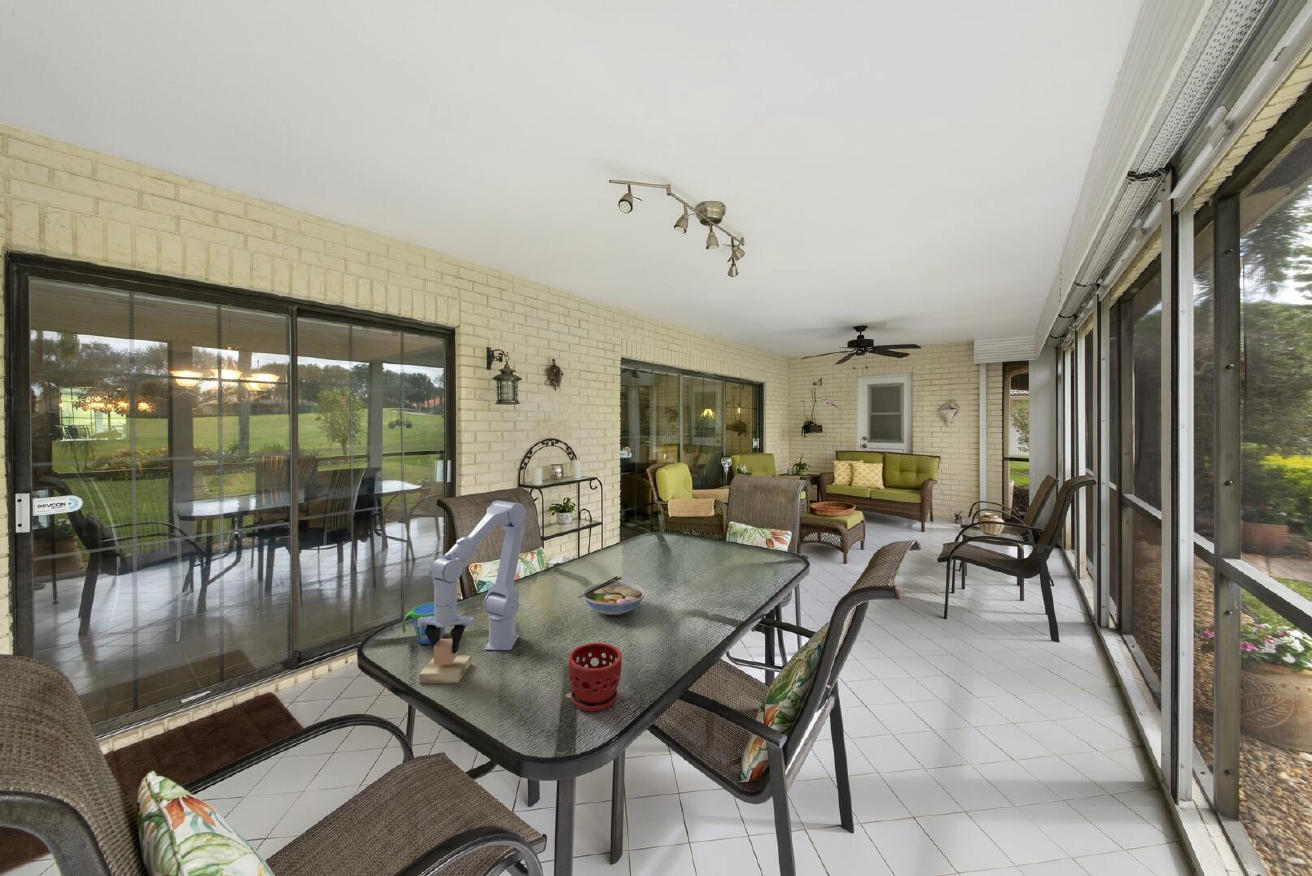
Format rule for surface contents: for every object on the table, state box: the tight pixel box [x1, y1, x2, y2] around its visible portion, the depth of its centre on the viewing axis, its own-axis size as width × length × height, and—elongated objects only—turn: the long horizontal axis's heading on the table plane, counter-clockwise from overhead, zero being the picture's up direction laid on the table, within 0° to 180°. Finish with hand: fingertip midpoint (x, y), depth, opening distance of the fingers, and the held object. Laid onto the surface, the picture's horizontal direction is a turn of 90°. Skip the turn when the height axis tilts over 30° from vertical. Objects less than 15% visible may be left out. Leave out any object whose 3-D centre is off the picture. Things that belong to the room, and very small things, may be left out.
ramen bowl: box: [577, 575, 646, 616], centre depth 178 cm, size 25×23×8 cm
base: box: [418, 654, 472, 684], centre depth 134 cm, size 10×10×2 cm
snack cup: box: [401, 601, 446, 645], centre depth 154 cm, size 16×10×10 cm
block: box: [433, 638, 458, 665], centre depth 134 cm, size 4×4×5 cm
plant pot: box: [568, 642, 623, 712], centre depth 122 cm, size 13×13×12 cm
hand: (445, 651), depth 134 cm, fingers closed on block, 4 cm apart
